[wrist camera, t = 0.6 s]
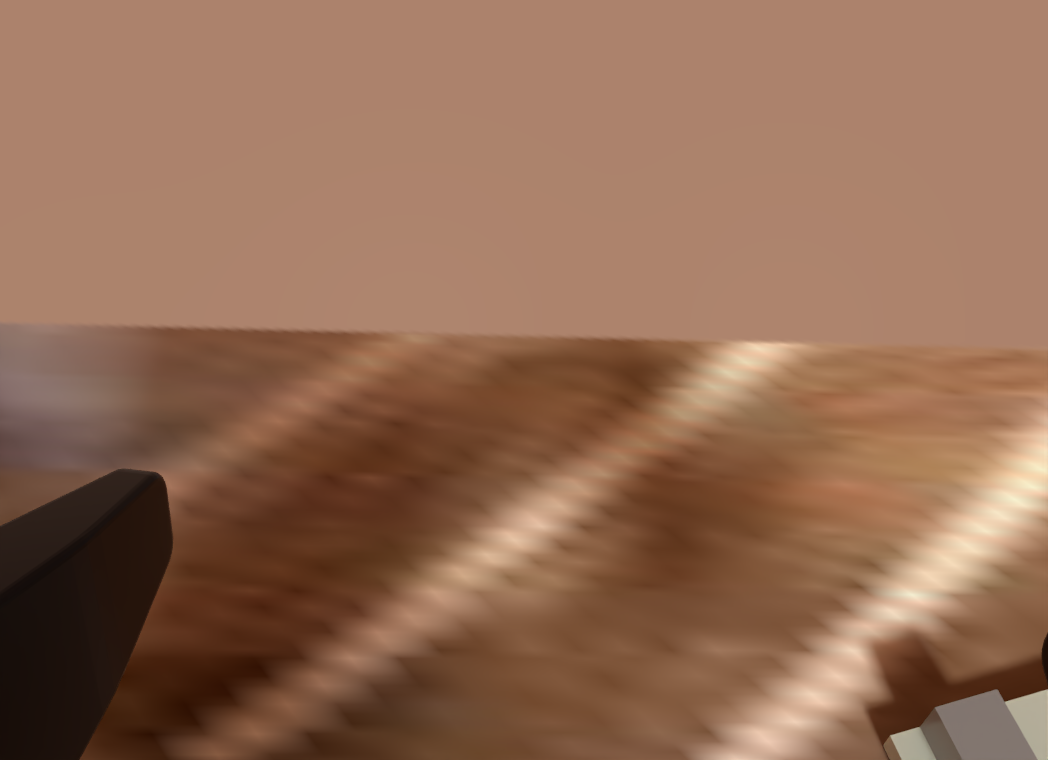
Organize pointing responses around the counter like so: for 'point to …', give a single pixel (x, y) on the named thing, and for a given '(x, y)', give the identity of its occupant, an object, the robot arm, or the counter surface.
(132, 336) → the counter surface
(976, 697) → the cradle
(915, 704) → the counter surface
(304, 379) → the counter surface
